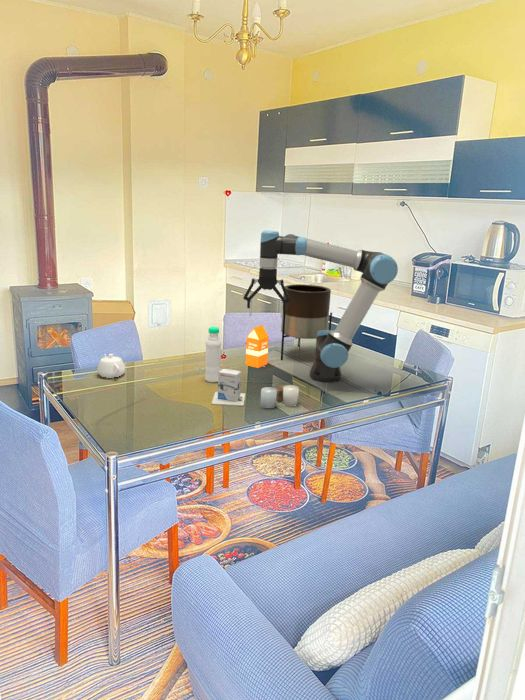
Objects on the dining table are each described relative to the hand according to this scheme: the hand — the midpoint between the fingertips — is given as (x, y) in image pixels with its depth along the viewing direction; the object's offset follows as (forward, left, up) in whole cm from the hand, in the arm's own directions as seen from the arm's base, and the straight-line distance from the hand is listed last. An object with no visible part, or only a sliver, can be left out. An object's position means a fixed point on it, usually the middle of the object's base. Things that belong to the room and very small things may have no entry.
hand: (265, 316), depth 225 cm
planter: (-20, -48, -32) cm, 61 cm away
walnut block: (-8, +17, -32) cm, 37 cm away
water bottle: (+23, -2, -32) cm, 39 cm away
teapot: (+70, -2, -32) cm, 77 cm away
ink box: (+14, +21, -31) cm, 40 cm away
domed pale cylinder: (-3, +25, -32) cm, 41 cm away
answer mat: (+14, +21, -32) cm, 40 cm away
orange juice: (+4, -29, -32) cm, 43 cm away
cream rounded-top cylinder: (-12, +21, -32) cm, 40 cm away
